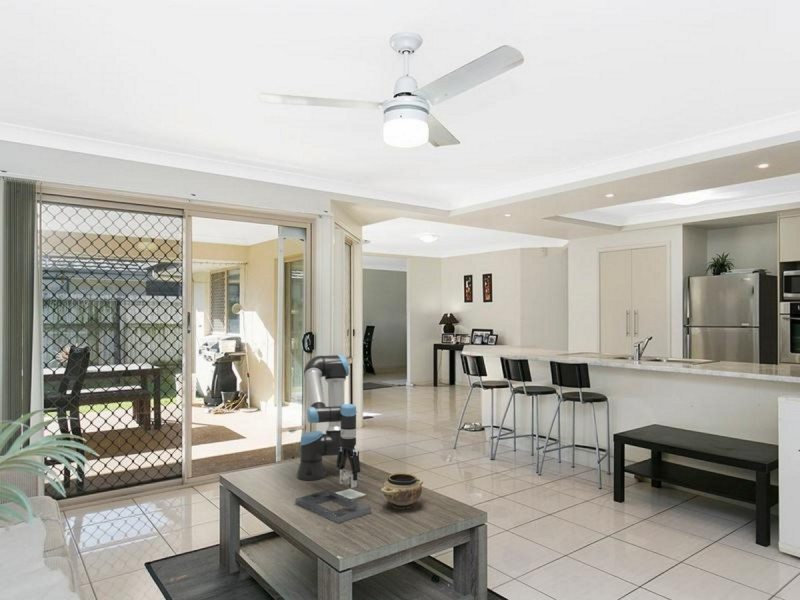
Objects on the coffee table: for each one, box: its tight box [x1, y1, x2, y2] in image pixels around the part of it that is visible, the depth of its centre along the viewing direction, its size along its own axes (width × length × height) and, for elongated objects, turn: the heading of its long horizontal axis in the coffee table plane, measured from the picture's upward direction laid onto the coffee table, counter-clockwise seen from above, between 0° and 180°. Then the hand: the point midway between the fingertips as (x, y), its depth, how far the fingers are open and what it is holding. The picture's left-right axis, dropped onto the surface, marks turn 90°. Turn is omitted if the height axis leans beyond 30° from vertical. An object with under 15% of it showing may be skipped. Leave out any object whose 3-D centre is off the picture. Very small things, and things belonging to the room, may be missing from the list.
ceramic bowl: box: [380, 472, 424, 510], centre depth 246 cm, size 24×18×15 cm
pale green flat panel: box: [335, 488, 366, 500], centre depth 259 cm, size 12×12×1 cm
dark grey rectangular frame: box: [294, 489, 372, 524], centre depth 242 cm, size 32×18×3 cm, turn 44°
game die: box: [338, 467, 358, 488], centre depth 260 cm, size 9×8×10 cm
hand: (348, 484), depth 259 cm, fingers closed on game die, 8 cm apart
